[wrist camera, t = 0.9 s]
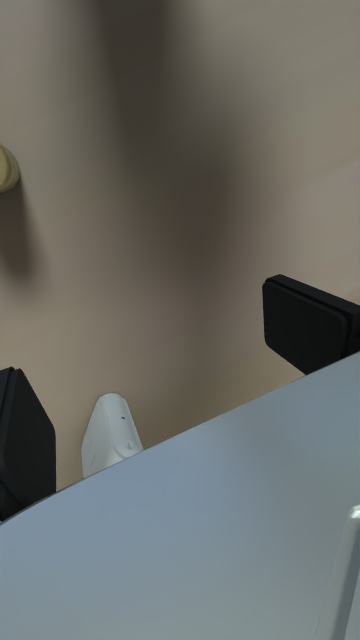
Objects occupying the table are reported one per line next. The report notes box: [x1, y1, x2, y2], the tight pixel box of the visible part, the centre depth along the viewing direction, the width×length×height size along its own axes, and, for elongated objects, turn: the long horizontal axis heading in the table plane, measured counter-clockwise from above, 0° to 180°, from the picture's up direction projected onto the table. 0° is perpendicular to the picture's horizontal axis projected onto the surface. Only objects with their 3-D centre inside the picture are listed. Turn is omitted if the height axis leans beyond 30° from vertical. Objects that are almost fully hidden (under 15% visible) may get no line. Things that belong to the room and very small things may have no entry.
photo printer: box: [81, 393, 143, 478], centre depth 36 cm, size 10×4×12 cm, turn 157°
